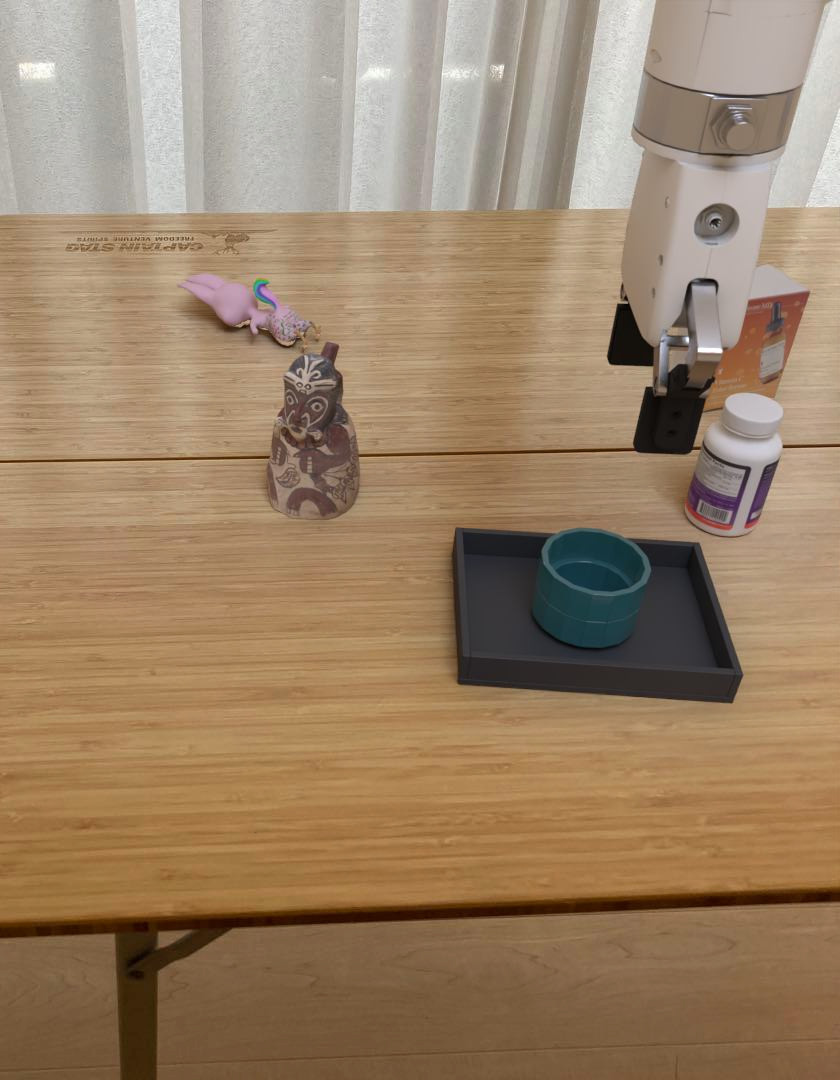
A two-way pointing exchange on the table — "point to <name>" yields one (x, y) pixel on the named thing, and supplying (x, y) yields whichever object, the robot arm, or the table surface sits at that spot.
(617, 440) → the table surface
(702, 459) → the pill bottle
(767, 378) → the small box
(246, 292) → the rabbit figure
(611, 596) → the cup
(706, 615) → the tray
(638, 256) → the robot arm
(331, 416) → the figurine
